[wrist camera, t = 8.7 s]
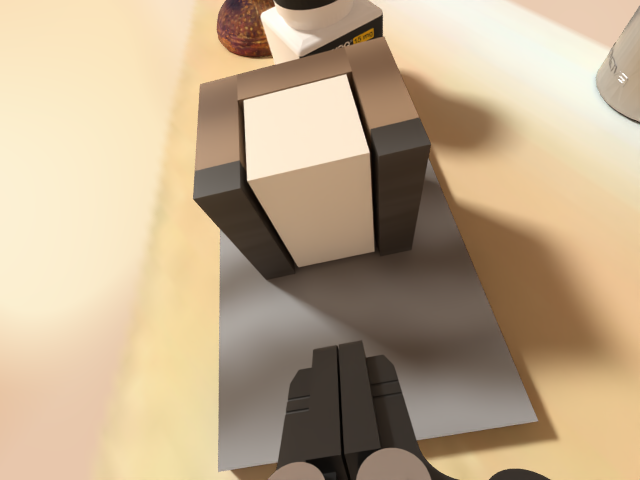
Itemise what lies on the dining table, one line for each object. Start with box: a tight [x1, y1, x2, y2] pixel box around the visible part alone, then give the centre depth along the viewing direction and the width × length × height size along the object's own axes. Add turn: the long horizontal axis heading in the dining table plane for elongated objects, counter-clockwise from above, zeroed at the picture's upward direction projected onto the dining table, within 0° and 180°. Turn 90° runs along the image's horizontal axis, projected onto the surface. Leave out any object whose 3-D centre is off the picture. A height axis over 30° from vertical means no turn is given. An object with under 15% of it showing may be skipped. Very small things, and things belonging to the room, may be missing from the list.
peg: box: [244, 74, 375, 267], centre depth 18 cm, size 5×5×9 cm
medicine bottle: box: [261, 0, 383, 65], centre depth 25 cm, size 7×7×12 cm
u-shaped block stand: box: [193, 37, 538, 472], centre depth 17 cm, size 20×16×10 cm
